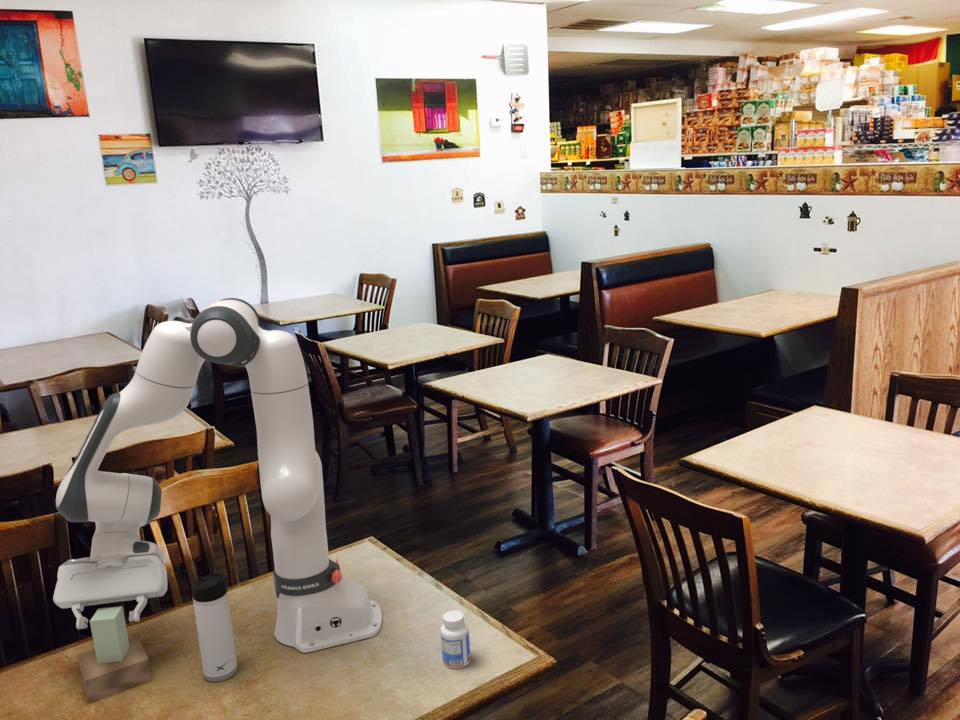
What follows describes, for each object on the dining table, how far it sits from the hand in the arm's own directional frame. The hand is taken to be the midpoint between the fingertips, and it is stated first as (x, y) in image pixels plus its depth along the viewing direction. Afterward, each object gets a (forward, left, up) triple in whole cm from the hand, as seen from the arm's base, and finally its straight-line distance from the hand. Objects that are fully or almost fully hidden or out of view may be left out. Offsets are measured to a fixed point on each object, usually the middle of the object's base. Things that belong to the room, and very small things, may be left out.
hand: (107, 624), depth 147 cm
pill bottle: (-65, +10, -12) cm, 67 cm away
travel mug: (-20, +3, -12) cm, 23 cm away
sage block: (0, -1, -7) cm, 7 cm away
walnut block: (0, 0, -12) cm, 12 cm away
